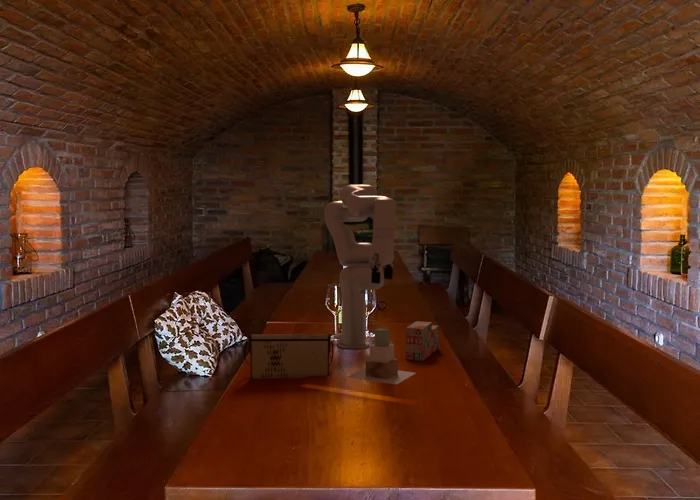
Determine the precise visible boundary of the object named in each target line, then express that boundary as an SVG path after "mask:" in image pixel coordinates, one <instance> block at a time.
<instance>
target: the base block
mask: <svg viewBox="0 0 700 500" xmlns="http://www.w3.org/2000/svg"><path fill="white" fill-rule="evenodd" d="M365 367H366V371H365V376H369V377H375V378H382V379H389V378H391V377H393V376H394V375H396V374H398V370H399V359H398V358H395V357H394V359H393V360H391V361H390V362H388V363H381V362H374V361H370V358H369V359H367V360H365Z"/></svg>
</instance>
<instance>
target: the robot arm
mask: <svg viewBox="0 0 700 500" xmlns="http://www.w3.org/2000/svg"><path fill="white" fill-rule="evenodd" d="M339 199H340V200H338V201H337V200H334V201H331V202H329V203H327V204H326V205H325V207H324V212H323V213H324V222H325V225H326V228H327V229H328V231H329V233H330V235H331V237H332V239H333V243H334V248H335V251H336V256H337V258H338V261H339V264H340V265H341V266H343V268H342V269H341V270H340V273H339V285H340V289H341V291H340V292H341V333H337V332H335V333H333V338H332V339H333V340H338V341H337V346H338V347H339V348H342V349H346V350H347V349H348V350H362V349H367V348H370V342H369V341H367V340H366V339H367V337H366V336H367V335H366V334H367V332H366V329H367V327H366V326H367V324H366V323H367V301H366V299H365V297H364V295H363V294H362V293H361V291H367V290H369V291H370V290H379V289H381V288H382V287H383V286H384V283H385V280H393V276H394V275H393V274H394V269H393V268H394V264H395V259H396V257H395V256H396V255H395V249H394V247H395V246H394V245H395V243H394V238H395V221H396V220H395V217H396V200H394V199H393V198H391V197H388V196H385V195H384V196H383V195H378V193H377V190H376V188H375V187H374V186H373V185H370V184H347V185H345V186H343V187H342V188H341V189H340V191H339ZM368 218H372V222H373V223H372V239H371V240H372V241H371V242H358V241H356V238H355V234H354V231H352V229H350V227H349V226H348V225H346V224H345V223H346V222H347V223H348V222H349V223H352V222H354V223H358V222H361V223H362V222H364V221H366V220H367V219H368ZM383 267H384V268H383Z"/></svg>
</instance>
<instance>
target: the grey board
mask: <svg viewBox="0 0 700 500" xmlns="http://www.w3.org/2000/svg"><path fill="white" fill-rule="evenodd" d="M365 371H366V366H365V367H363V368H360V369H358V370H357V371H355V372H353V373H351V374H350V375H347V376H346V378H350V379H351V378H352V379H357V380H363V381H364V380H365V381H370V382H375V383H376V382H377V383H382V384H389V385H398V384H401V383H402V382H403V381H405V380H407V379H409V378H410V377H412V376H414V375H415V374H417V372H413V371H405V370H399V369H398V374H396V375H394V376H393V377H391V378H389V379H382V378H375V377H369V376H365Z"/></svg>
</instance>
